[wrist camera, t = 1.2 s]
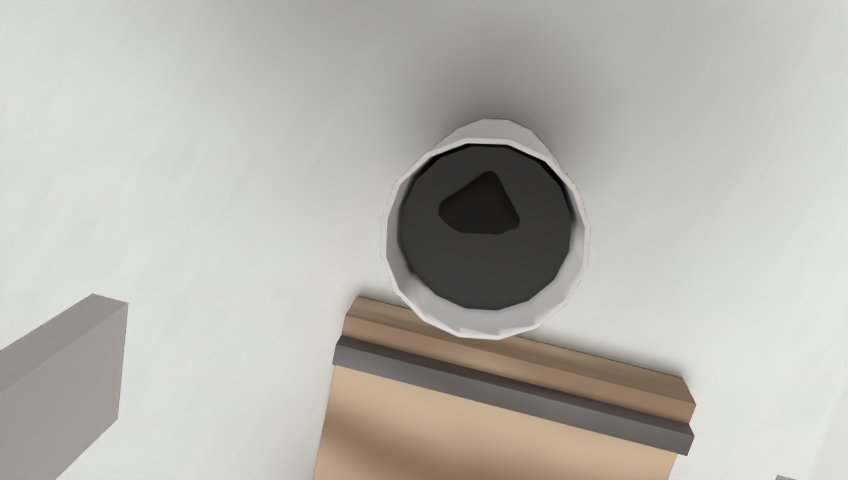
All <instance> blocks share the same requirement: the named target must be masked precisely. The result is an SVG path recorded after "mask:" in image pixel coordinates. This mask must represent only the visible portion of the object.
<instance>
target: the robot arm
mask: <svg viewBox="0 0 848 480" xmlns="http://www.w3.org/2000/svg"><path fill="white" fill-rule="evenodd" d="M127 312H128V303H126V302H122V301H119V300H115V299H111V298H107V297H104V296H100V295H96V294H91V295H89V296H88V297H86V298H85V299H83V300H81V301H80V302H78V303H77V304H75V305H73V306H72V307H70V308H68V309H67V310H65V311H64V312H62V313H60V314H59V315H57V316H56V317H54V318H52V319H51V320H49V321H48V322H46V323H44V324H43V325H41V326H39V327H38V328H36V329H35V330H33V331H31V332H30V333H28V334H27V335H25V336H23V337H22V338H20V339H19V340H17V341H15V342H14V343H12V344H11V345H9V346H7V347H6V348H4V349H2V350H1V351H0V480H55V479H56V478H57V477H58V476H59V475H60V474H61V473H63V472H64V471H65V470H66V469H67V468H68V467H69V466H70V465H71V464H72V463H73V462H74V461H75V460H76V459H77V458H78V457H79V456H80V455H81V454H82V453H83V452H84V451H85V450H86V449H87V448H88V447H89V446H90V445H91V444H92V443H93V442H94V441H95V440H96V439H97V438H98V437H99V436H100V435H101V434H102V433H104V432H105V431H106V430H107V429H108V428H109V427H110V426H111V425H112V424H113V423H114V422H115V421H116V420H117V419H118V409H119V398H120V388H121V377H122V366H123V355H124V345H125V334H126V323H127ZM776 480H795V479H791V478H787V477H783V476H780V475H777V477H776Z"/></svg>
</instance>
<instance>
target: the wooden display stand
mask: <svg viewBox="0 0 848 480" xmlns="http://www.w3.org/2000/svg"><path fill="white" fill-rule="evenodd" d="M332 364H333V365H335V370H334V375H333V381H332V386H331V391H330V396H329V401H328V406H327V411H326V416H325V421H324V426H323V431H322V436H321V441H320V446H319V451H318V456H317V461H316V466H315V471H314V476H313V480H668V478H669V475H670V472H671V470H672V467H673V465H674V462H675V459H676V457H677V454H681V455H685V456H687V455H688V452H689V450H690V447H691V444H692V442H693V439H694V437H695V436H694V434H693V432H692V430H691V428H690V426H689V422H690V420H691V417H692V414H693V412H694V409H695V407H696V403H695V401H694V399H693V397H692V395H691V394H690V392H689V390H688V388H687V386H686V384H685V382H684V380H683V378H679V377H675V376H671V375H667V374H664V373H660V372H656V371H652V370H648V369H644V368H640V367H636V366H632V365H628V364H624V363H620V362H616V361H612V360H608V359H604V358H600V357H596V356H592V355H588V354H584V353H580V352H576V351H572V350H568V349H564V348H560V347H557V346H553V345H549V344H545V343H541V342H537V341H533V340H529V339H525V338H521V337H517V336H510V337H506V338H503V339H500V340H493V339H478V338H464V337H457V336H455V335H453V334H451V333H449V332H447V331H444V330H442V329H440V328H438V327H436V326H434V325H431V324H429V323H427V322H425V321H423V320H422V319H421V318H420V317H419V316H418V315H417V314H416V313H415V312H414V311H413V310H410V309H406V308H402V307H398V306H394V305H390V304H386V303H382V302H378V301H374V300H370V299H366V298H362V297H358V296H357V298H356V299H355V301H354V302H353V304H352V306H351V307H350V309H349V311H348V312H347V314H346V315H345V320H344V325H343V330H342V335H341V337H340V339H339V340H338V342H337V344H336V347H335V353H334V358H333V363H332Z"/></svg>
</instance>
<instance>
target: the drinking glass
mask: <svg viewBox="0 0 848 480" xmlns="http://www.w3.org/2000/svg"><path fill="white" fill-rule="evenodd" d="M590 232H591V227H590V224H589V221H588V218H587V215H586V212H585V209H584V206H583V204H582V201H581V198H580V195H579V192H578V189H577V188H576V186H575V185H574V183H573V182H572V181H571V179H570V178H569V177H568V175H567V174H566V173H565V171H564V170H563V169H562V167H561V166H560V165H559V163H558V162H557V161H556V159H555V158H554V157H553V155H552V154H551V153H550V151H549V150H548V148H547V147H546V146H545V145H544V144H543V143H542V142H541V141H540V140H539V139H538V137H537V136H536V135H535V134H534V133H533V132H532V131H531V130H529V129H527V128H525V127H522V126H520V125H518V124H516V123H514V122H512V121H509V120H499V119H481V120H478V121H476V122H473V123H470V124H468V125H465V126H462V127H460V128H458V129H457V130H455V131H454V132H453V133H452V134H450V135H449V136H448V137H446V138H445V139H444V140H442V141H441V142H440V143H439V144H437V145H436V146H435V147H433V148H432V149H431V150H429V151H428V152H427V153H426V154H425V155H424V156H423V157H421V158H420V159H419V160H418V161H417V162H416V163H415V164H414V165H413V166H412V167H411V168H410V169H409V170H408V171H407V172H406V173H405V174H403V175H402V176H401V177H400V178H399V179H398V180H397V181H396V184H395V186H394V188H393V191H392V193H391V195H390V197H389V200H388V202H387V204H386V207H385V209H384V211H383V214H382V216H381V259H382V261H383V263H384V266H385V268H386V271H387V273H388V275H389V278H390V280H391V283H392V285H393V288H394V290H395V292H396V294H397V295H398V296H399V297H400V298H401V299H402V300H403V301H404V302H405V303H406V304H407V305H408V306H409V307H410V308H411V309H412V310H413V311H414V312H415V313H416V314H417V315H418V316H419V317H420V318H421V319H422V320H423V321H425V322H427V323H429V324H431V325H434V326H436V327H438V328H440V329H442V330H444V331H447V332H449V333H451V334H453V335H455V336H457V337H464V338H478V339H493V340H500V339H503V338H506V337H510V336H513V335H516V334H520V333H523V332H526V331H530V330H533V329H536V328H538V327H539V326H540V325H542V324H543V323H544V322H545V321H547V320H548V319H549V318H550V317H552V316H553V315H554V314H555V313H557V312H558V311H559V310H560V309H562V308H563V307H564V306H565V305H567V304H568V302H569V301H570V299H571V297H572V295H573V293H574V291H575V290H576V288H577V286H578V284H579V282H580V281H581V279H582V277H583V275H584V273H585V271H586V270H587V265H588V254H589V243H590Z"/></svg>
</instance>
